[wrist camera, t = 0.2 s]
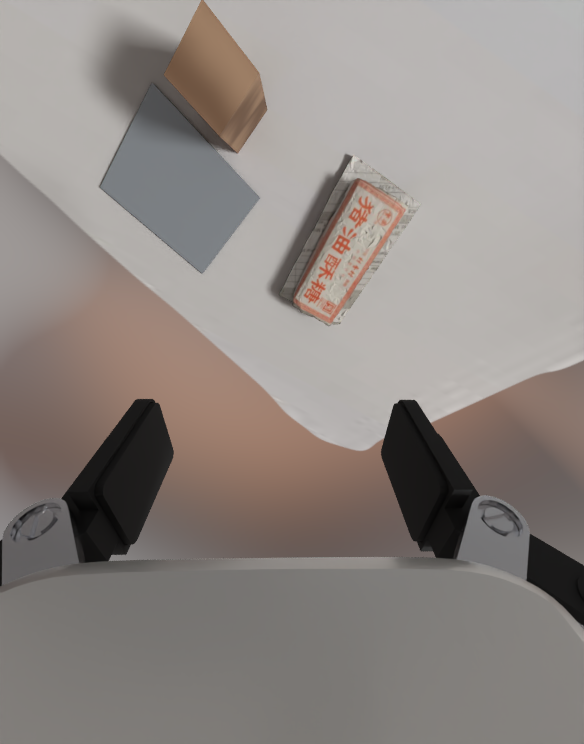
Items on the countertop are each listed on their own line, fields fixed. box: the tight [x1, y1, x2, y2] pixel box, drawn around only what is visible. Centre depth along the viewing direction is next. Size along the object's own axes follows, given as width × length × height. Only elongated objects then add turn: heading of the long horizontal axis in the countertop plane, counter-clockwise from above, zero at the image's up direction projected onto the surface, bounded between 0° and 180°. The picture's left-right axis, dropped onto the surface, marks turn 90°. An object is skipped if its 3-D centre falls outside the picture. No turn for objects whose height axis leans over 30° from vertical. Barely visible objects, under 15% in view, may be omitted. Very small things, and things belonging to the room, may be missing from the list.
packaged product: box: [279, 155, 421, 326], centre depth 35 cm, size 18×5×10 cm
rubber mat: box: [100, 83, 260, 273], centre depth 32 cm, size 12×14×1 cm
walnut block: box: [164, 0, 267, 153], centre depth 25 cm, size 5×5×10 cm
